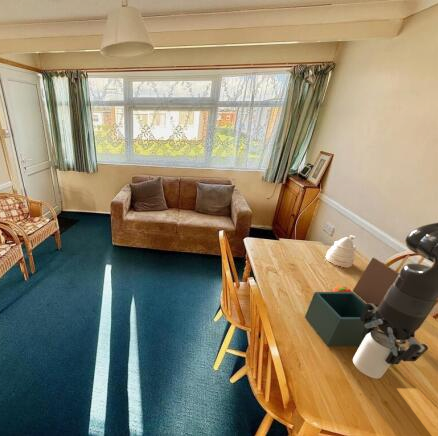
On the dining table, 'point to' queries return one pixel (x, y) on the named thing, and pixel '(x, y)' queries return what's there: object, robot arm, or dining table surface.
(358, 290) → the lid
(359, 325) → the box
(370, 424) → the dining table surface
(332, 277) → the dining table surface
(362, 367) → the can
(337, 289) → the clementine
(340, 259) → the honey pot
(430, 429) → the dining table surface
